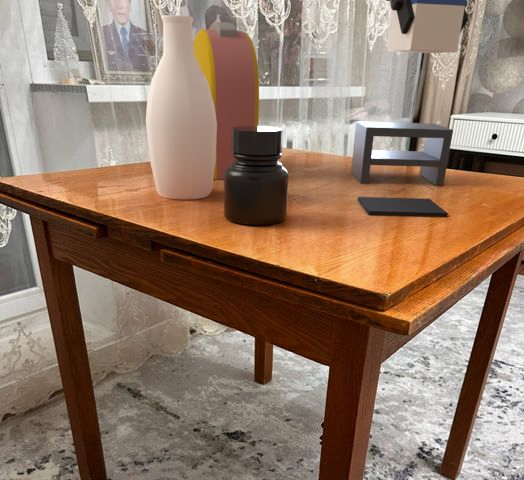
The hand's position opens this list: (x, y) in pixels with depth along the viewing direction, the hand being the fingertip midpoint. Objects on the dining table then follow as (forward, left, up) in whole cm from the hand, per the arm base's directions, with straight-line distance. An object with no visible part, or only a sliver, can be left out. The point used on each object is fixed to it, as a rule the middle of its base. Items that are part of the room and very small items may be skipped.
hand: (434, 26), depth 75 cm
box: (+1, -3, -3) cm, 5 cm away
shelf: (-4, -26, -25) cm, 36 cm away
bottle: (+36, -6, -25) cm, 44 cm away
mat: (+1, 0, -25) cm, 25 cm away
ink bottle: (+24, +9, -25) cm, 36 cm away
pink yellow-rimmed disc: (+31, -31, -25) cm, 50 cm away
